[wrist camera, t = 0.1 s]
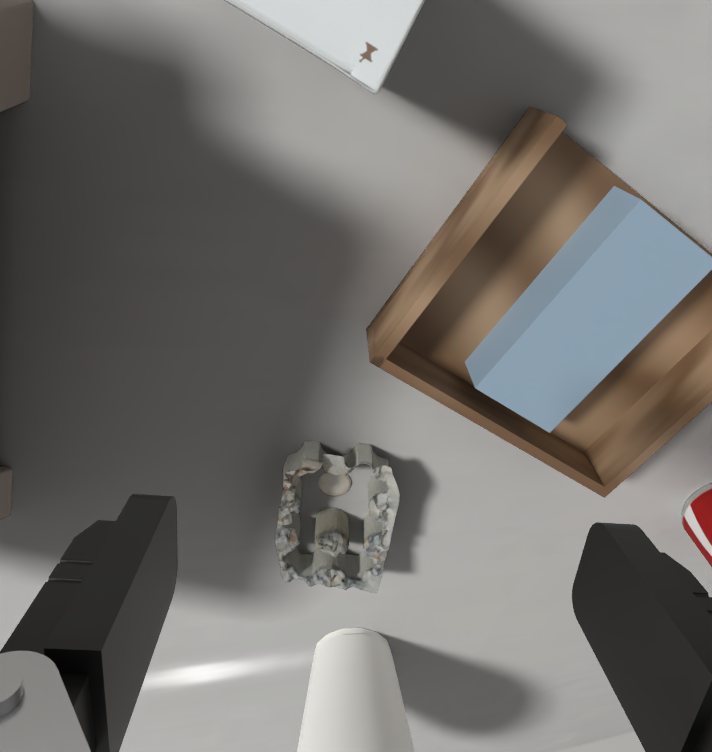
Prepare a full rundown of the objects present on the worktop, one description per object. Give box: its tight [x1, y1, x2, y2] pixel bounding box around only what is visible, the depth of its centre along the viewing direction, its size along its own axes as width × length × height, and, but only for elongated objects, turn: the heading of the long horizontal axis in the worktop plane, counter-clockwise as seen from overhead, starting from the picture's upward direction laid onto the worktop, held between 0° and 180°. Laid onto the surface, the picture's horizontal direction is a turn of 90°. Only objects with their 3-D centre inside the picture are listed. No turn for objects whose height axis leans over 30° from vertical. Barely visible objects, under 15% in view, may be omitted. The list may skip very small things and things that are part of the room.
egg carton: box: [275, 441, 400, 593], centre depth 38 cm, size 11×8×4 cm
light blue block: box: [465, 186, 712, 433], centre depth 31 cm, size 12×6×3 cm, turn 146°
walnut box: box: [366, 107, 712, 498], centre depth 32 cm, size 14×17×4 cm
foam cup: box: [297, 628, 415, 752], centre depth 42 cm, size 10×9×13 cm
